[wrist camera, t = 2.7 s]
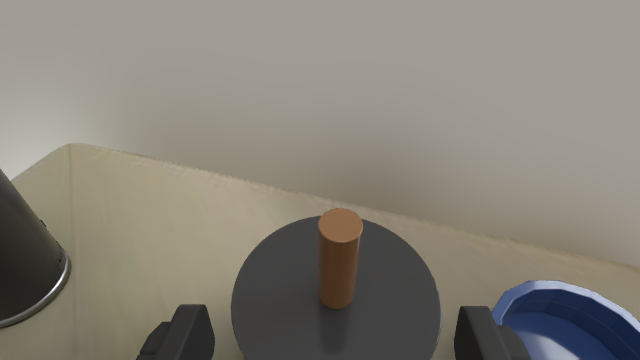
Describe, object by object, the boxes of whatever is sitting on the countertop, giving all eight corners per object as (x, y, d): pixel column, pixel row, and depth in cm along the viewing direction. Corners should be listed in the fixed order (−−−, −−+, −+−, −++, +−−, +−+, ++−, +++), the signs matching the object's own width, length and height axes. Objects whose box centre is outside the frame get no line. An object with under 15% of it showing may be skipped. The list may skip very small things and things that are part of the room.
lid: (270, 464, 20) (252, 417, 14) (213, 257, 30) (188, 178, 24) (483, 354, 25) (536, 283, 19) (373, 204, 35) (385, 127, 29)
